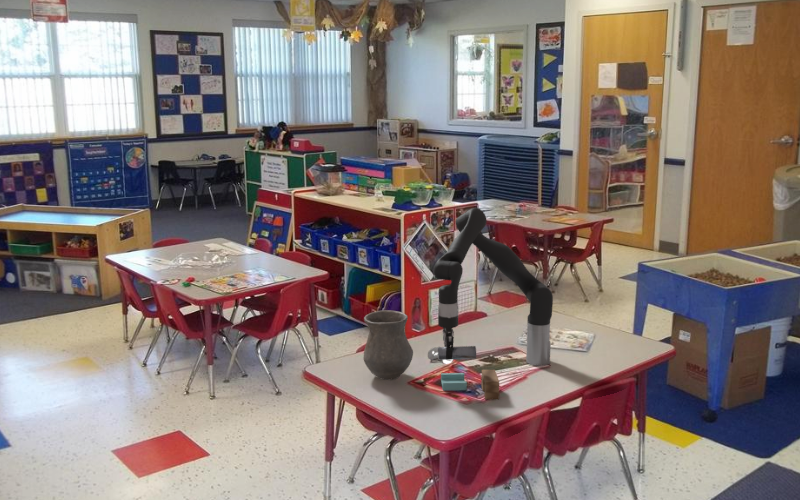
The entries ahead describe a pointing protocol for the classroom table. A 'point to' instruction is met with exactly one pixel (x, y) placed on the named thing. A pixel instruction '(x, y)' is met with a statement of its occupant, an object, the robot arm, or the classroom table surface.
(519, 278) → the robot arm
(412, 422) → the classroom table surface
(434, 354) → the figurine
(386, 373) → the vase
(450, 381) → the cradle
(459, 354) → the axle
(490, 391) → the brown notched block
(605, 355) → the classroom table surface
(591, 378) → the classroom table surface
